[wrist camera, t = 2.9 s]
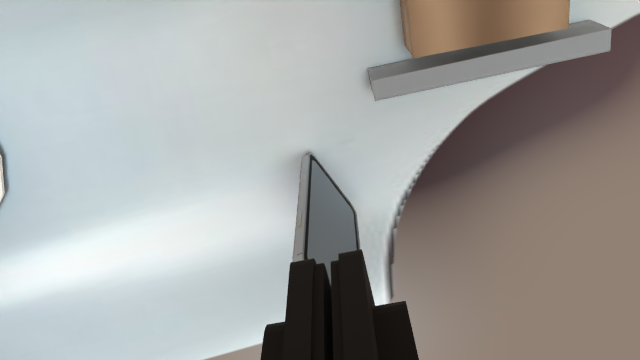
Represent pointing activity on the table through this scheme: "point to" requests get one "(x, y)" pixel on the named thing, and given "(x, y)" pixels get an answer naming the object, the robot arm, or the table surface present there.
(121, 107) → the table surface
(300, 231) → the smartphone
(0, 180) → the desk lamp
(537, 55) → the bar
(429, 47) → the block
